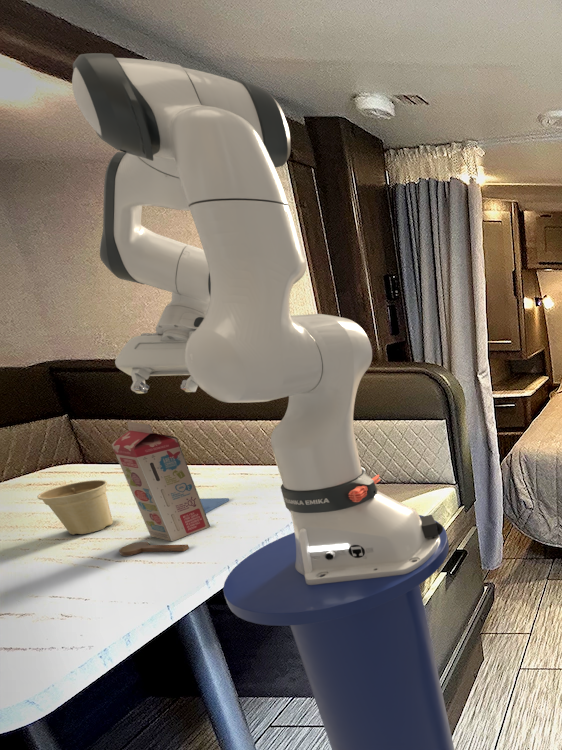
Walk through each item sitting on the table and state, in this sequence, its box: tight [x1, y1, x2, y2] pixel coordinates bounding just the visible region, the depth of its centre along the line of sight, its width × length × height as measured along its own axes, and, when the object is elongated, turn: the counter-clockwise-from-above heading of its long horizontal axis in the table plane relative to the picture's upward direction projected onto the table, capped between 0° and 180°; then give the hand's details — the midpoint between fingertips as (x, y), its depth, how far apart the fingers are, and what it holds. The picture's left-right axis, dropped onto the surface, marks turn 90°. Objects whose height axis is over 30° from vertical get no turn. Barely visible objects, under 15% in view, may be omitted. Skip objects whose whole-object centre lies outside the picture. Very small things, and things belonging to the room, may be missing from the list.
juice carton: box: [111, 421, 211, 543], centre depth 95 cm, size 7×7×22 cm
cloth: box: [200, 497, 230, 514], centre depth 109 cm, size 8×8×1 cm
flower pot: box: [37, 479, 114, 535], centre depth 99 cm, size 9×9×9 cm
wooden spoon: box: [118, 541, 190, 557], centre depth 91 cm, size 12×4×1 cm, turn 90°
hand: (162, 391), depth 94 cm, fingers open, 8 cm apart
